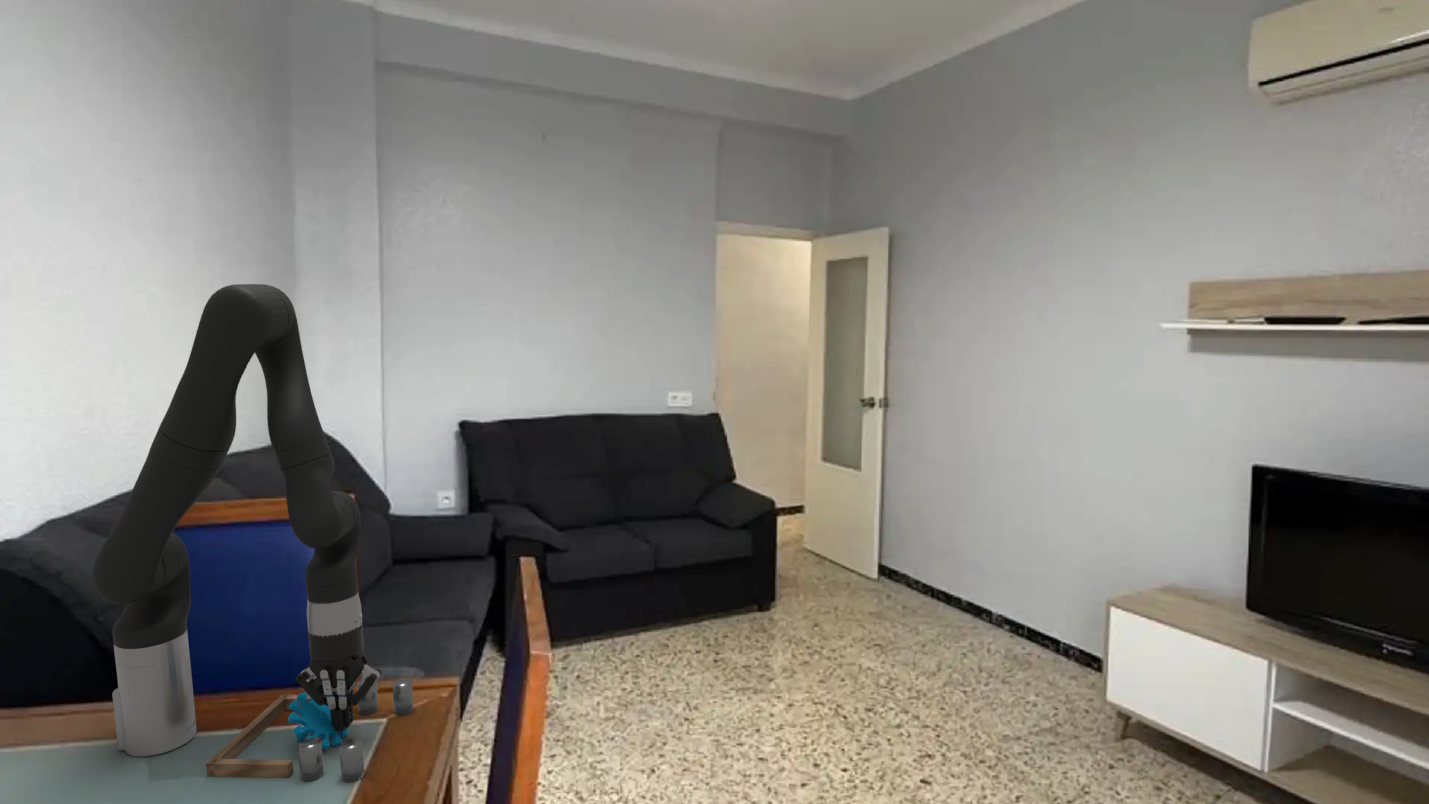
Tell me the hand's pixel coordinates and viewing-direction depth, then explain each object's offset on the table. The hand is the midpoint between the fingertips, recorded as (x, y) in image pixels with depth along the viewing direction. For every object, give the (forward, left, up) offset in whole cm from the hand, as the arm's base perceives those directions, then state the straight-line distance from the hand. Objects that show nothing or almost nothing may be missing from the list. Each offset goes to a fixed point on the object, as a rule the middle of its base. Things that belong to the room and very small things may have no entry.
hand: (343, 728), depth 124 cm
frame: (-9, 0, -2) cm, 10 cm away
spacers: (+3, 0, -2) cm, 3 cm away
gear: (-3, 0, -2) cm, 4 cm away
